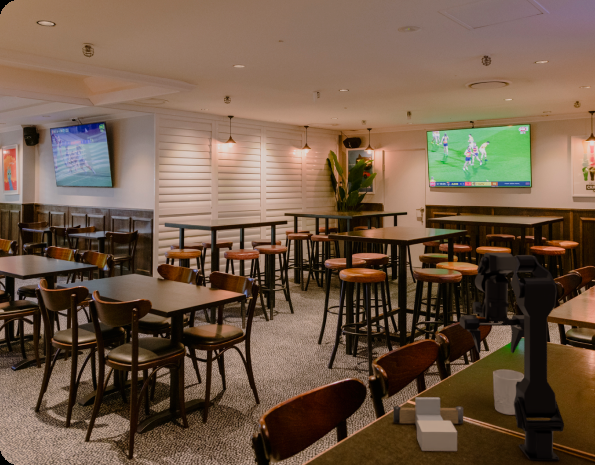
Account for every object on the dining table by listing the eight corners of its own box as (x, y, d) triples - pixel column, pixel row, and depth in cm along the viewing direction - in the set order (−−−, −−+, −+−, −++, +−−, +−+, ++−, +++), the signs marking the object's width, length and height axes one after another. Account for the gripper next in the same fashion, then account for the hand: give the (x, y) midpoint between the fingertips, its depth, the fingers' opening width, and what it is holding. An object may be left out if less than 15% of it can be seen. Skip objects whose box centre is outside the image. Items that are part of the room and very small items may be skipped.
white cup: (498, 401, 145) (498, 367, 144) (527, 408, 140) (528, 373, 139) (488, 411, 139) (488, 375, 138) (518, 418, 134) (519, 381, 133)
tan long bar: (461, 420, 132) (462, 406, 132) (463, 423, 130) (464, 409, 130) (393, 420, 133) (393, 405, 133) (394, 423, 131) (394, 408, 131)
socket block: (457, 451, 117) (457, 432, 117) (421, 450, 118) (422, 431, 117) (450, 438, 123) (450, 420, 123) (416, 438, 124) (416, 420, 123)
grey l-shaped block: (445, 436, 124) (445, 408, 123) (420, 436, 124) (420, 408, 123) (438, 424, 131) (439, 397, 130) (415, 423, 131) (415, 397, 130)
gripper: (519, 292, 149) (518, 344, 150) (454, 292, 150) (454, 344, 151) (535, 299, 138) (534, 356, 139) (465, 299, 139) (464, 356, 140)
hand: (495, 352), depth 143 cm, fingers open, 9 cm apart
